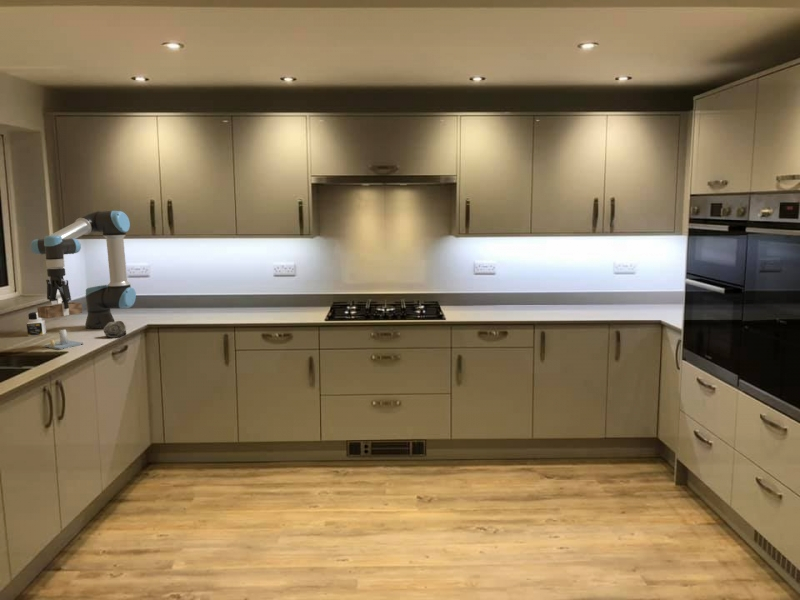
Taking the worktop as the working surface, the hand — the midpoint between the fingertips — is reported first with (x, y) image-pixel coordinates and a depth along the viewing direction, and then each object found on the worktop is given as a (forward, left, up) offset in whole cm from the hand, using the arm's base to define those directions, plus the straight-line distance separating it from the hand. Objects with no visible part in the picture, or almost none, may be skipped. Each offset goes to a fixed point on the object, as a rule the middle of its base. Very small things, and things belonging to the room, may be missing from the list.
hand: (60, 314), depth 295 cm
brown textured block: (0, 0, 0) cm, 0 cm away
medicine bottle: (-11, -41, -16) cm, 45 cm away
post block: (0, 0, -16) cm, 16 cm away
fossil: (-26, +4, -16) cm, 30 cm away
